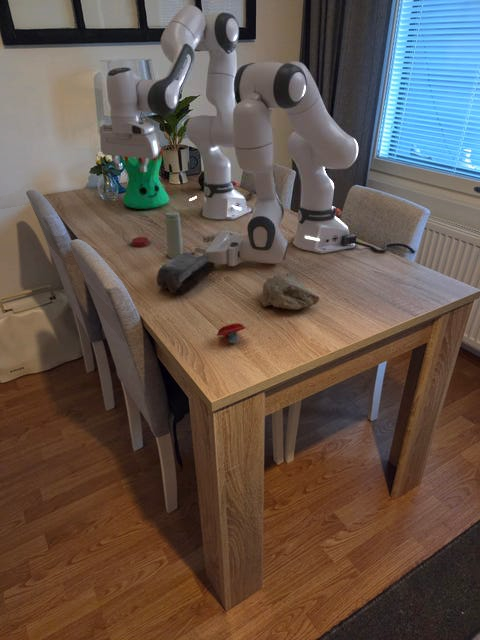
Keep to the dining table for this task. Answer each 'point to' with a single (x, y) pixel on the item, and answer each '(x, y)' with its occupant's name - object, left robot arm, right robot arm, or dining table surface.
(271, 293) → the rough grey stone
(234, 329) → the red toy mushroom
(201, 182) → the toy
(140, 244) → the lid
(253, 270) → the dining table surface
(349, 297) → the dining table surface
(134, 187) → the toy
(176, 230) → the jar
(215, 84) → the left robot arm
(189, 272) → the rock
